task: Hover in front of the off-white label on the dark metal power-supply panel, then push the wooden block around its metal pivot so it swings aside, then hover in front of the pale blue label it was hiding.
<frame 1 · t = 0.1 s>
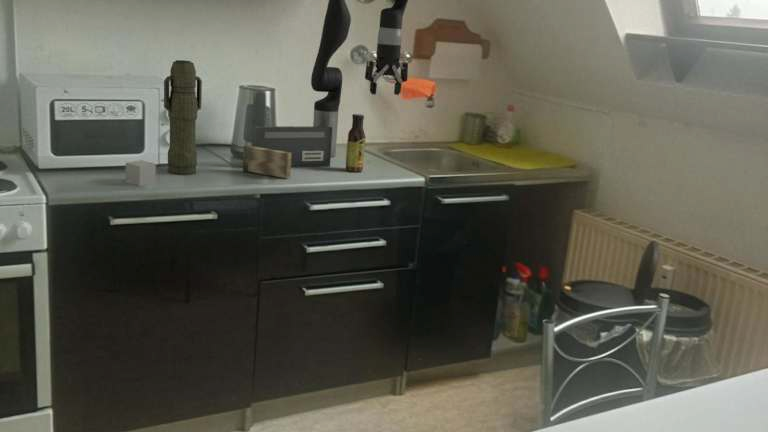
hand: (385, 94, 237), 29 cm above the counter, tool pointing down, fingers open, 8 cm apart
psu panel: (292, 166, 257), on the counter
thermos: (182, 172, 236), on the counter
wooden block: (266, 161, 240), point 5 cm above the counter, hinge at 0.0°
sauce bottle: (354, 171, 259), on the counter
light grey cube: (140, 183, 218), on the counter
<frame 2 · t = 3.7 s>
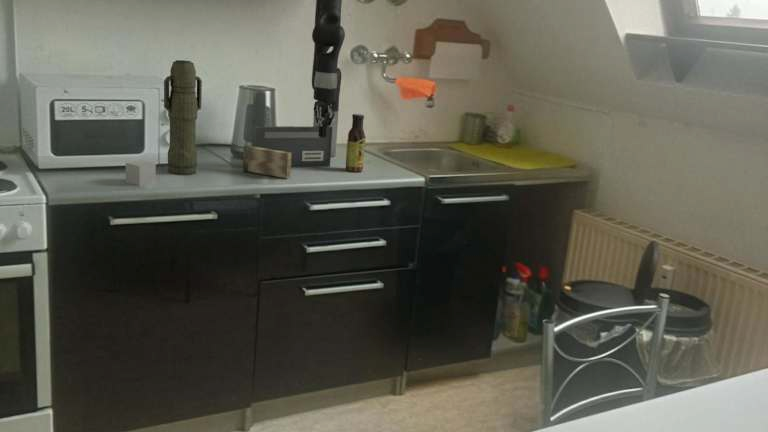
hand: (322, 137, 250), 12 cm above the counter, tool pointing down, fingers closed
nothing on the counter moved.
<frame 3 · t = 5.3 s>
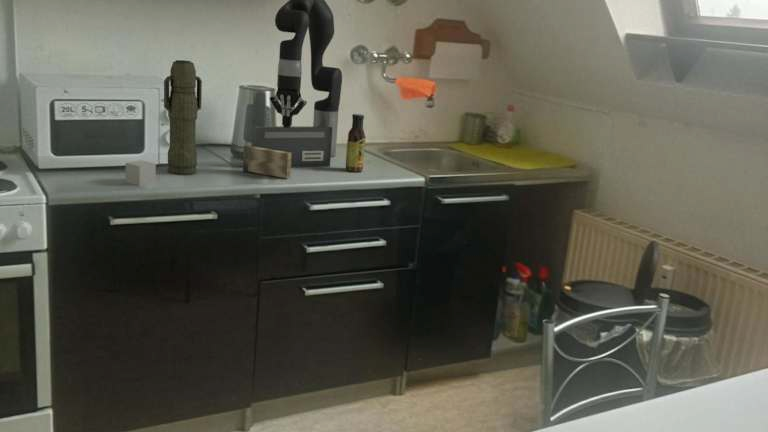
hand: (286, 127, 241), 16 cm above the counter, tool pointing down, fingers closed
nothing on the counter moved.
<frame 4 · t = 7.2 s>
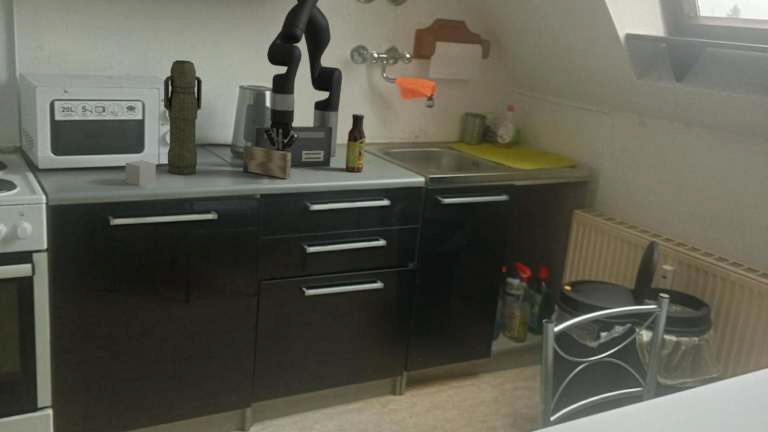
hand: (280, 160, 241), 5 cm above the counter, tool pointing down, fingers closed
wooden block: (266, 161, 240), point 5 cm above the counter, hinge at 0.9°, touching gripper
everything else where it was.
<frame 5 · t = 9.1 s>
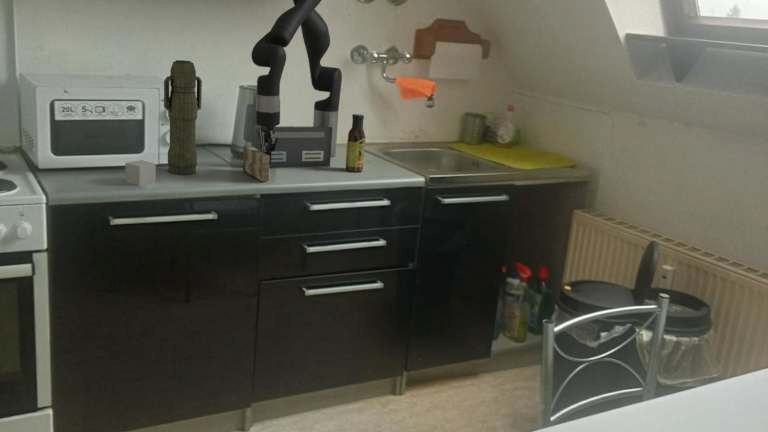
hand: (267, 163, 235), 5 cm above the counter, tool pointing down, fingers closed
wooden block: (255, 162, 237), point 5 cm above the counter, hinge at 37.3°, touching gripper
everything else where it was.
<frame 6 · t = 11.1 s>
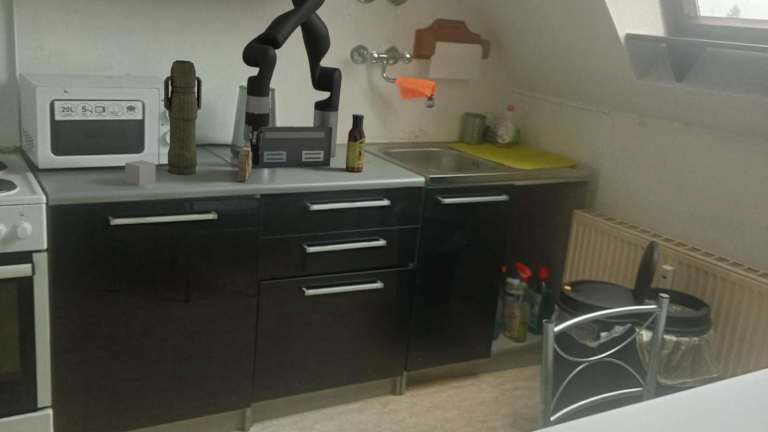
hand: (255, 164, 232), 5 cm above the counter, tool pointing down, fingers closed
wooden block: (245, 162, 236), point 5 cm above the counter, hinge at 64.3°
everything else where it was.
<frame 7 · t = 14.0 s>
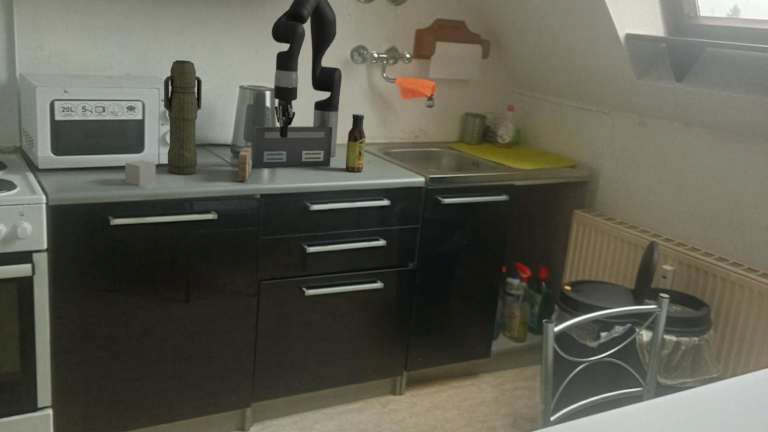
hand: (283, 137, 243), 12 cm above the counter, tool pointing down, fingers closed
nothing on the counter moved.
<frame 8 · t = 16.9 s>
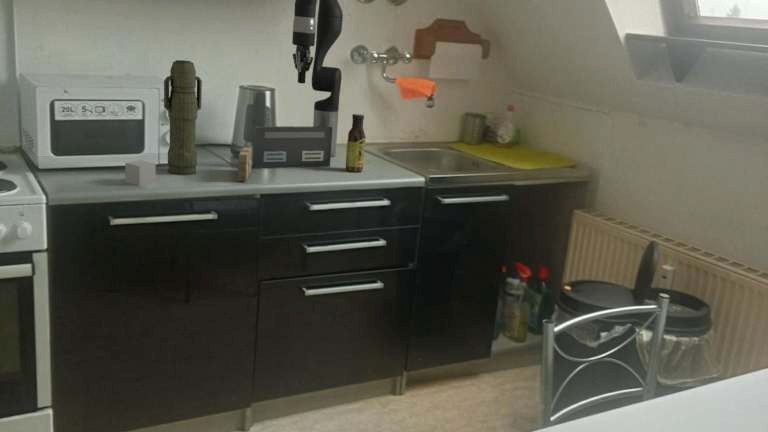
hand: (301, 83, 251), 29 cm above the counter, tool pointing down, fingers closed
nothing on the counter moved.
at the end: wooden block at +64° (first picture: +0°); thermos moved 0.2 cm from its start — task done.
